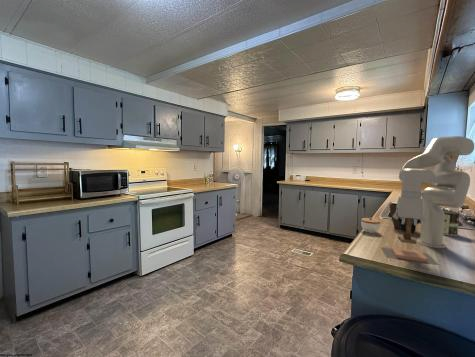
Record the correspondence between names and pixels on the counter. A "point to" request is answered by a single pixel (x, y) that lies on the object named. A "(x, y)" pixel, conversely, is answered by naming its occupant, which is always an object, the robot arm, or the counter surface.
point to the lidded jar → (370, 224)
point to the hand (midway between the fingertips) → (407, 231)
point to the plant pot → (395, 221)
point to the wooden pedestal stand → (407, 233)
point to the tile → (408, 254)
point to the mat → (389, 254)
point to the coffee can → (451, 223)
